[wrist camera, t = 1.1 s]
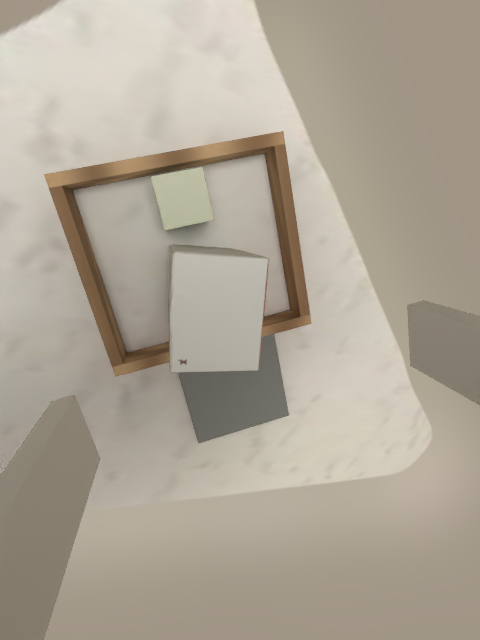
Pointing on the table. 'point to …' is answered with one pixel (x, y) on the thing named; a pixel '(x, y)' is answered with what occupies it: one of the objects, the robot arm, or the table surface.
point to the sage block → (182, 198)
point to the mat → (236, 396)
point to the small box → (215, 309)
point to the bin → (166, 162)
